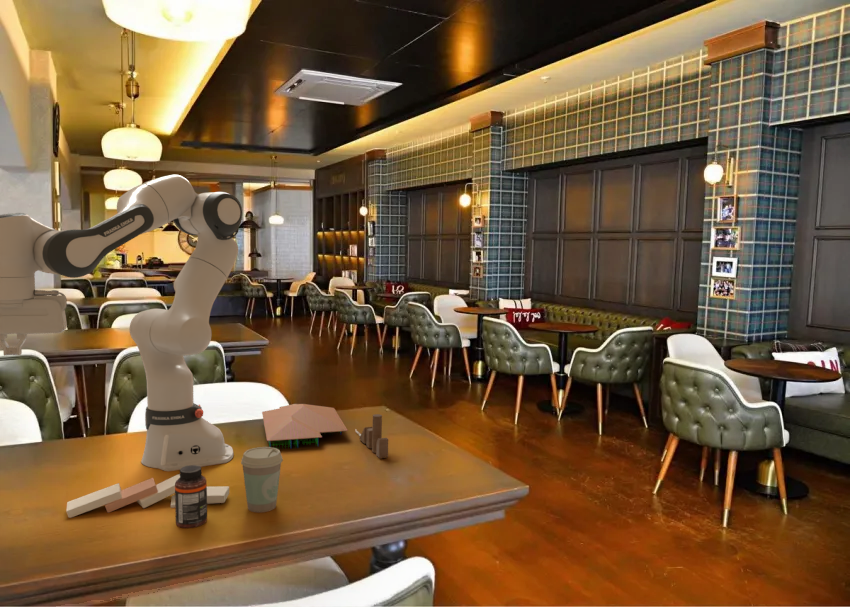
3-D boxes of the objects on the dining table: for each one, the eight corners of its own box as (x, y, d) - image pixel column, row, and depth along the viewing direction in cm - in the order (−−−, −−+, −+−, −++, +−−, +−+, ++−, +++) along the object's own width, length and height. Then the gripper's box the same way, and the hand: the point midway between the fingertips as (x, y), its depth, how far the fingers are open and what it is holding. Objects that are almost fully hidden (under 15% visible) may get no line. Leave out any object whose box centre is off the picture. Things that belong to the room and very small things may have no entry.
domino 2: (136, 501, 134) (182, 479, 140) (143, 508, 130) (189, 485, 136) (134, 495, 134) (180, 473, 139) (141, 501, 130) (187, 478, 136)
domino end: (69, 508, 130) (121, 489, 134) (68, 518, 125) (122, 498, 130) (67, 502, 129) (118, 483, 134) (66, 511, 125) (119, 491, 129)
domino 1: (106, 504, 132) (155, 483, 137) (107, 512, 128) (158, 491, 132) (104, 497, 132) (153, 477, 136) (105, 506, 128) (155, 485, 132)
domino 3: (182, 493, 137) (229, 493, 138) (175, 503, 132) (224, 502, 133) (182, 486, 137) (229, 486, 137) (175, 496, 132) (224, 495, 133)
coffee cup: (261, 519, 127) (261, 462, 126) (232, 509, 131) (232, 453, 130) (290, 505, 134) (291, 450, 133) (262, 496, 139) (262, 443, 137)
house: (332, 415, 207) (332, 391, 207) (350, 446, 176) (350, 418, 175) (261, 419, 201) (261, 394, 200) (267, 452, 169) (267, 423, 168)
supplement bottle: (180, 516, 127) (180, 463, 126) (210, 516, 128) (210, 462, 127) (171, 530, 121) (170, 473, 120) (202, 529, 122) (202, 473, 121)
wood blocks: (388, 458, 166) (388, 420, 165) (378, 459, 165) (379, 421, 164) (359, 432, 189) (360, 398, 188) (351, 432, 188) (351, 399, 187)
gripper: (69, 289, 138) (71, 351, 139) (-41, 289, 131) (-38, 354, 132) (63, 291, 132) (64, 355, 133) (-53, 291, 125) (-50, 359, 126)
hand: (12, 355), depth 132 cm, fingers closed
